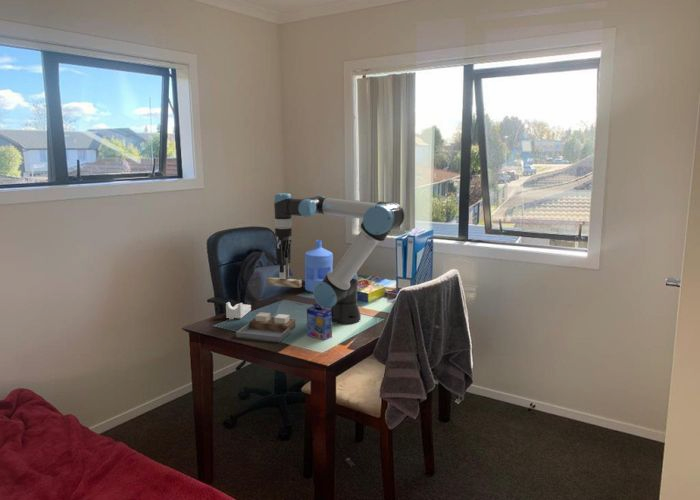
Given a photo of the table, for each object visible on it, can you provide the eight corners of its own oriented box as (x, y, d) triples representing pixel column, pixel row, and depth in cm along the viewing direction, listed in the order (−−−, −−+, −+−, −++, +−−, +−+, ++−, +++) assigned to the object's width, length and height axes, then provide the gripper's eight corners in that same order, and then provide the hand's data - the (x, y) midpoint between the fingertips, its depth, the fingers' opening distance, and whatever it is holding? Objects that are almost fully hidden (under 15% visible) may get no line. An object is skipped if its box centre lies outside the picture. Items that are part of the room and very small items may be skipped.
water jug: (309, 285, 311) (309, 237, 305) (335, 286, 307) (336, 238, 302) (301, 292, 296) (300, 242, 290) (328, 294, 292) (328, 243, 287)
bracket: (240, 320, 249) (240, 304, 248) (226, 319, 251) (225, 303, 249) (251, 311, 262) (250, 296, 260) (237, 310, 263) (236, 296, 262)
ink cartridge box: (306, 335, 230) (305, 303, 227) (314, 332, 234) (314, 300, 231) (324, 340, 224) (324, 307, 221) (332, 336, 229) (332, 304, 226)
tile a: (289, 320, 238) (289, 315, 238) (285, 323, 234) (285, 318, 233) (279, 319, 240) (278, 313, 239) (274, 322, 235) (274, 317, 234)
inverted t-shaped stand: (301, 286, 247) (301, 258, 245) (299, 287, 244) (298, 259, 242) (269, 283, 251) (268, 256, 249) (267, 285, 249) (266, 257, 246)
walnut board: (295, 326, 240) (295, 319, 240) (287, 333, 232) (287, 325, 231) (258, 322, 245) (258, 315, 244) (249, 329, 237) (249, 321, 236)
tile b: (270, 318, 241) (270, 313, 240) (266, 321, 236) (266, 316, 235) (260, 317, 242) (260, 312, 242) (255, 320, 237) (255, 315, 237)
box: (289, 333, 232) (289, 328, 231) (280, 342, 221) (279, 337, 221) (247, 329, 237) (247, 323, 236) (236, 337, 226) (235, 332, 226)
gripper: (282, 224, 251) (283, 273, 256) (268, 229, 236) (269, 281, 241) (297, 225, 249) (298, 274, 254) (284, 230, 234) (285, 282, 239)
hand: (284, 277), depth 247 cm, fingers closed on inverted t-shaped stand, 3 cm apart
